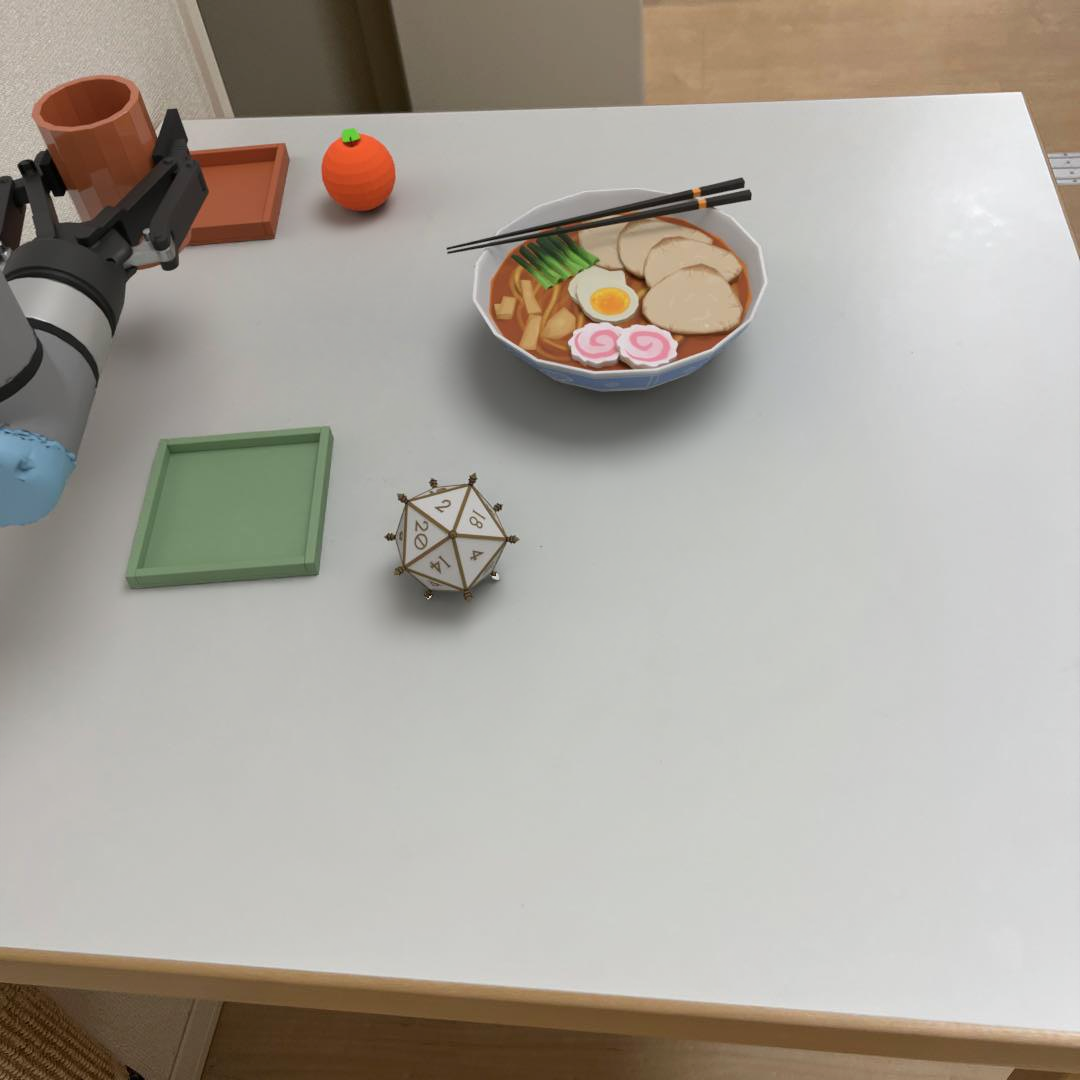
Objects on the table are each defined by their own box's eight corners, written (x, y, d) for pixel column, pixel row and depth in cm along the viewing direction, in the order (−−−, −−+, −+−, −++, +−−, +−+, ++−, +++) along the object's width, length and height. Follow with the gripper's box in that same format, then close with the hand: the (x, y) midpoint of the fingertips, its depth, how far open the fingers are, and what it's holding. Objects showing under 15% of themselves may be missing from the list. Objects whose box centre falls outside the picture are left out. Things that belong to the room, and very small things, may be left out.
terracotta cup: (80, 266, 85) (11, 127, 75) (123, 210, 89) (64, 72, 80) (167, 274, 83) (108, 134, 74) (206, 217, 88) (156, 77, 78)
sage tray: (131, 588, 76) (124, 577, 75) (165, 451, 84) (159, 439, 83) (318, 574, 75) (313, 562, 74) (333, 437, 84) (329, 425, 83)
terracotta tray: (135, 250, 101) (127, 233, 100) (160, 170, 110) (154, 154, 108) (274, 238, 101) (269, 221, 99) (289, 159, 109) (285, 142, 108)
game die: (481, 620, 76) (492, 625, 66) (369, 579, 76) (362, 578, 66) (524, 504, 77) (541, 491, 67) (413, 462, 76) (413, 443, 66)
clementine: (324, 186, 106) (306, 120, 100) (392, 172, 106) (379, 105, 101) (336, 232, 101) (318, 165, 95) (407, 216, 101) (394, 148, 96)
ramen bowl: (494, 474, 80) (481, 395, 74) (450, 287, 94) (436, 207, 88) (814, 411, 82) (829, 328, 75) (723, 236, 96) (729, 155, 90)
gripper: (-72, 373, 73) (17, 181, 87) (226, 350, 72) (267, 161, 86) (-134, 285, 67) (-27, 94, 81) (190, 259, 66) (240, 72, 81)
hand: (124, 129), depth 84 cm, fingers closed on terracotta cup, 8 cm apart
